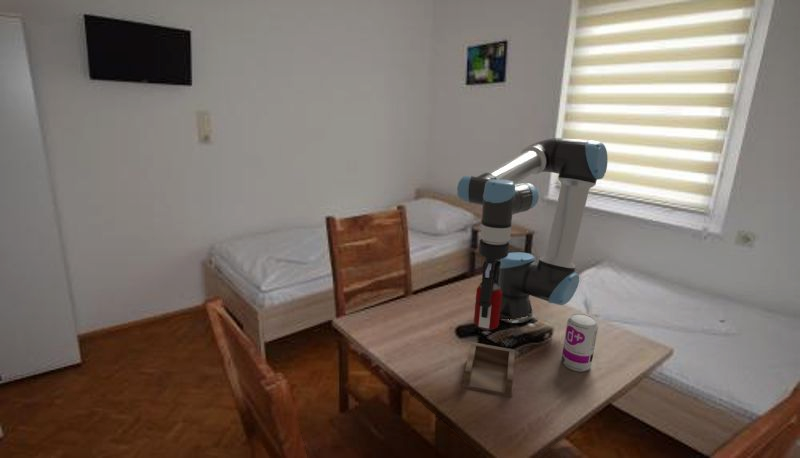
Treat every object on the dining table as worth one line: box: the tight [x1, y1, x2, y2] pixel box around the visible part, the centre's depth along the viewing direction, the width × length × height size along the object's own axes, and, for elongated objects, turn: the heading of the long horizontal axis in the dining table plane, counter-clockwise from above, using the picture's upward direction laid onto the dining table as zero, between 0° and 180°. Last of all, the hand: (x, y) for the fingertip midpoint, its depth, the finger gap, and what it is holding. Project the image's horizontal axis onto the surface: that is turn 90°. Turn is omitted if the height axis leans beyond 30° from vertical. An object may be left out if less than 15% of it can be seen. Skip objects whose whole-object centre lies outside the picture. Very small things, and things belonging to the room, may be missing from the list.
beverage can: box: [473, 281, 502, 331], centre depth 116 cm, size 7×7×12 cm
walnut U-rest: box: [462, 342, 516, 398], centre depth 121 cm, size 15×13×5 cm
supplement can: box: [561, 313, 599, 372], centre depth 126 cm, size 8×8×15 cm
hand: (486, 320), depth 117 cm, fingers closed on beverage can, 7 cm apart
